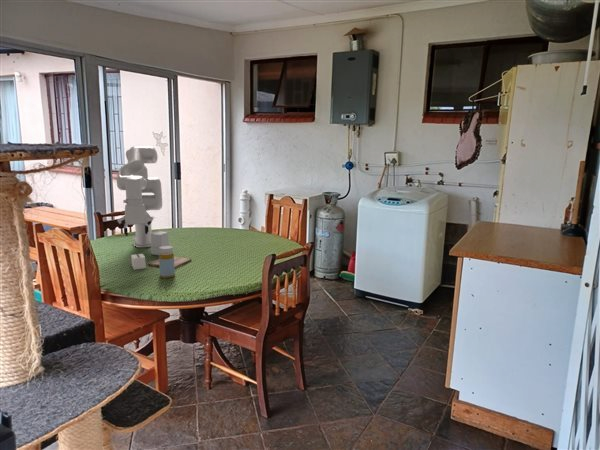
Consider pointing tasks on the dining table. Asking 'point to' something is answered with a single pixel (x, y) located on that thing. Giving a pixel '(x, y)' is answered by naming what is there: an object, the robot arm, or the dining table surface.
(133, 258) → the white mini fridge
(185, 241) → the dining table surface
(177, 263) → the brown rectangular plate
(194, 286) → the dining table surface
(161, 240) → the supplement box
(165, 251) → the bottle
